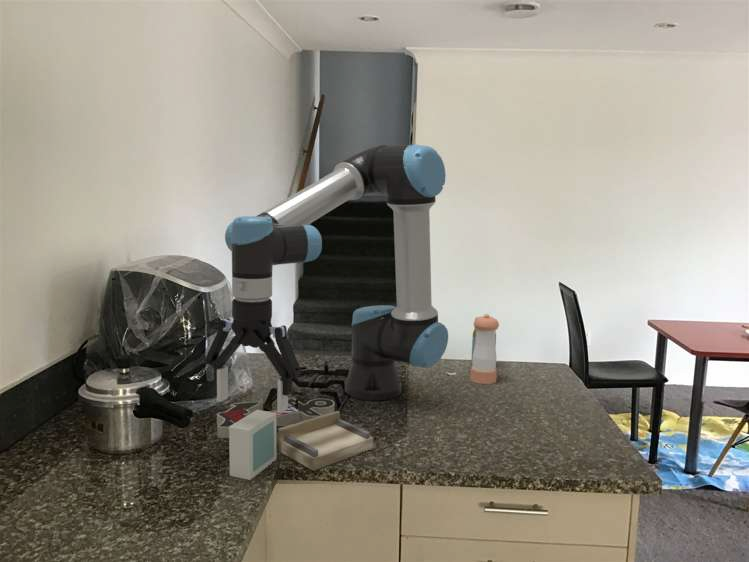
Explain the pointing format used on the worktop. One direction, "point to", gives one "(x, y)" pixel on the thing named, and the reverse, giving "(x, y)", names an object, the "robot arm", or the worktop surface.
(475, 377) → the salt shaker
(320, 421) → the tray
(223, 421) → the decorative sign
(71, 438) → the worktop surface
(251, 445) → the white box
